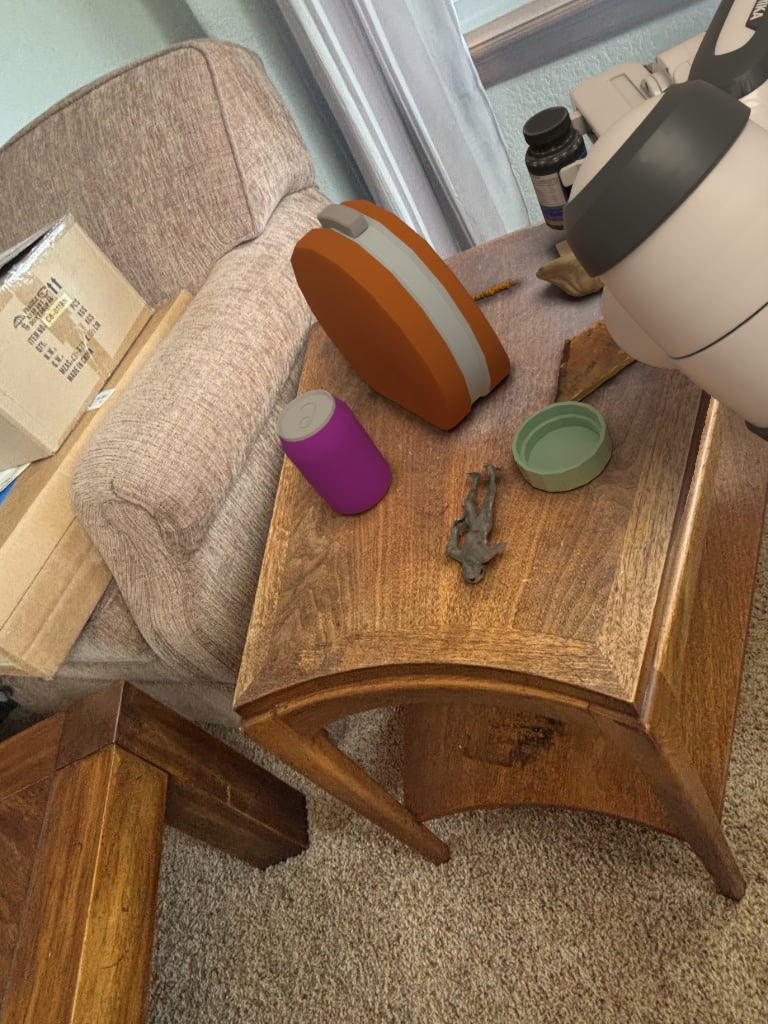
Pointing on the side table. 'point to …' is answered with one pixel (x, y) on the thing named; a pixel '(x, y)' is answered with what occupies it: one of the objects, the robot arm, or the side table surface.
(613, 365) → the shard
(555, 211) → the pill bottle
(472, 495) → the figurine
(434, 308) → the alarm clock
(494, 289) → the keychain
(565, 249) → the mat
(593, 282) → the fossil
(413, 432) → the side table surface
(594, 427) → the bowl
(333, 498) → the beverage can
